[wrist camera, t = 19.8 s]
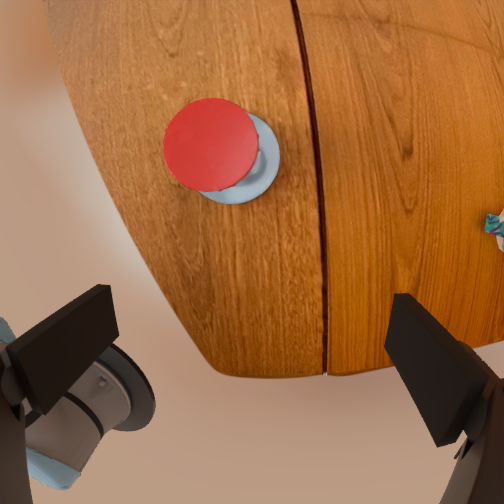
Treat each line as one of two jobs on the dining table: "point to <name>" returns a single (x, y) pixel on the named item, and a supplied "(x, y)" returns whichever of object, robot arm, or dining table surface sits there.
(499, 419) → the robot arm
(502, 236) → the mug
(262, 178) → the coaster
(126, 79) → the dining table surface
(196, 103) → the lid
